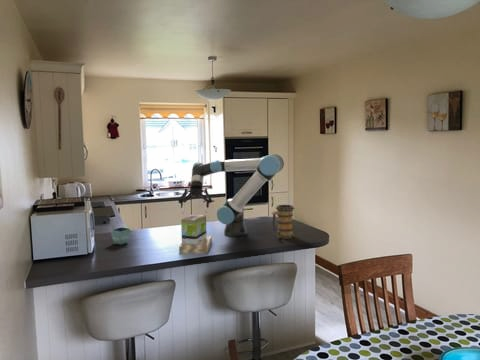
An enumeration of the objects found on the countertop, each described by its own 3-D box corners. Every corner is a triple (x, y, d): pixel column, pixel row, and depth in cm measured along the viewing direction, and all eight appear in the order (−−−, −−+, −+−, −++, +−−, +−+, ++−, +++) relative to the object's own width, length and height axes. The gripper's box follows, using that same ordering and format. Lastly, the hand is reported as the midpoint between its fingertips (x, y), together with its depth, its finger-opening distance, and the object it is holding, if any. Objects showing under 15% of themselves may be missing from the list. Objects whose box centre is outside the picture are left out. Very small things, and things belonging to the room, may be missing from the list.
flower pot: (131, 242, 235) (130, 228, 234) (120, 246, 228) (119, 231, 227) (122, 240, 240) (121, 227, 239) (111, 244, 232) (110, 230, 231)
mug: (299, 237, 239) (299, 206, 237) (278, 241, 230) (278, 209, 228) (286, 232, 250) (286, 203, 248) (266, 237, 241) (265, 206, 238)
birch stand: (211, 242, 232) (211, 235, 231) (207, 253, 210) (207, 246, 209) (186, 242, 232) (185, 236, 232) (179, 253, 210) (179, 246, 210)
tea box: (197, 245, 211) (196, 219, 210) (181, 244, 214) (180, 219, 212) (207, 238, 226) (206, 214, 224) (191, 237, 228) (191, 213, 227)
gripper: (217, 186, 236) (215, 214, 223) (178, 187, 237) (174, 215, 224) (216, 179, 230) (214, 207, 217) (176, 180, 231) (172, 208, 218)
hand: (194, 212), depth 221 cm, fingers open, 13 cm apart
